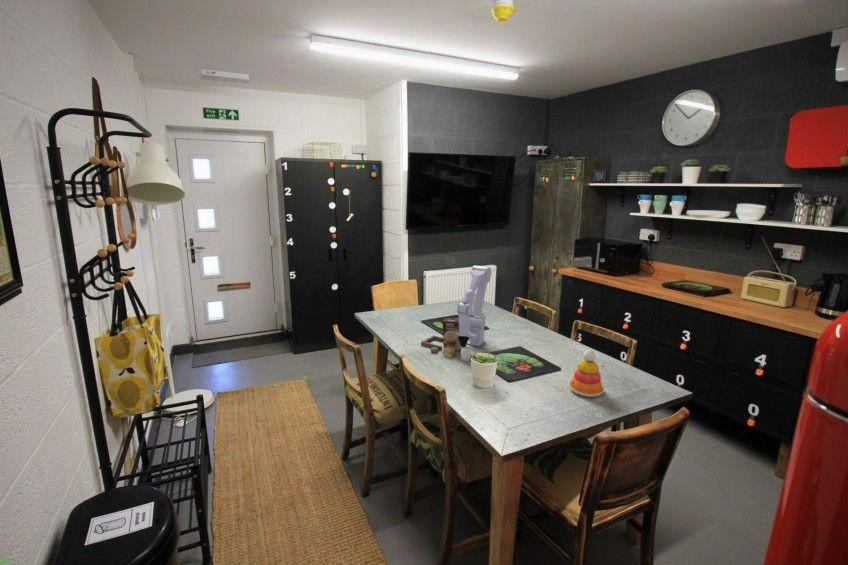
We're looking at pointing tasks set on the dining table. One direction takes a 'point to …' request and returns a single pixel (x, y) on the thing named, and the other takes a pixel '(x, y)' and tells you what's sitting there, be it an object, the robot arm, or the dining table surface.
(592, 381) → the stacking toy
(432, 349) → the rubber puck
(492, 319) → the dining table surface
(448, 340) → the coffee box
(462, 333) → the robot arm
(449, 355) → the oak block
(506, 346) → the dining table surface
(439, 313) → the dining table surface
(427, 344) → the walnut bay
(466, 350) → the pale grey rounded cylinder
